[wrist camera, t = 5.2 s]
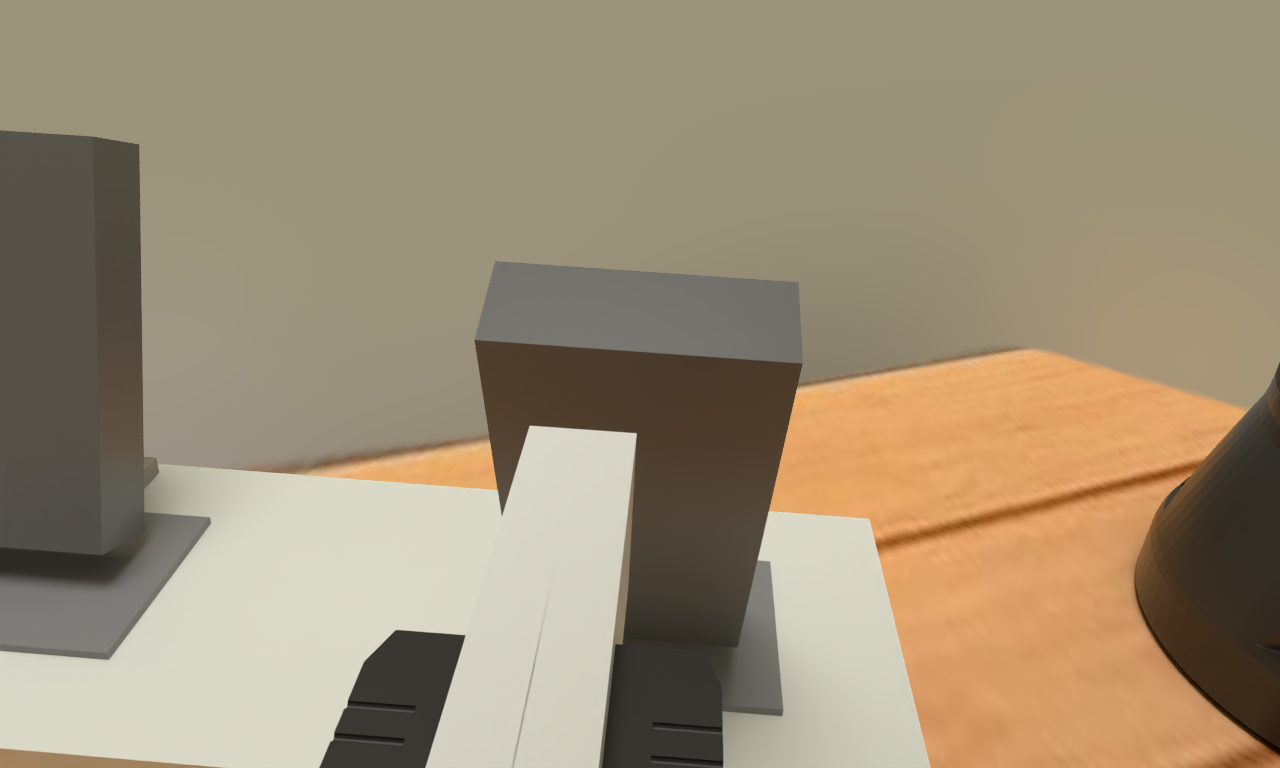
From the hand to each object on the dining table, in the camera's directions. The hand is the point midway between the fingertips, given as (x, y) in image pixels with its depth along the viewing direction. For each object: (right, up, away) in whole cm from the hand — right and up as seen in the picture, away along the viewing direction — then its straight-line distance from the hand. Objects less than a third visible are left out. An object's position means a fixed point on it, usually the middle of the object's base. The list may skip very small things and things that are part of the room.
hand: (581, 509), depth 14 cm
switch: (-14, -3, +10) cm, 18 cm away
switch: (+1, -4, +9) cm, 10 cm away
